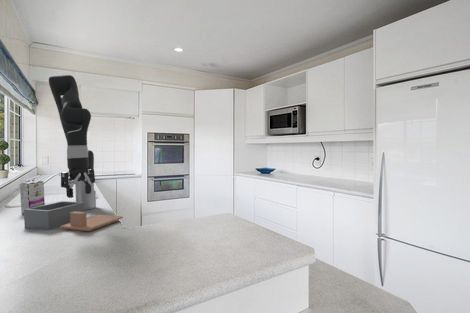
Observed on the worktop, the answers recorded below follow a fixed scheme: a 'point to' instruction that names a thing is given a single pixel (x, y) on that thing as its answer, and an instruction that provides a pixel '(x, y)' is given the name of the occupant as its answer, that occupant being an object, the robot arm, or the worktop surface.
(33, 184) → the candy bar box
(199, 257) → the worktop surface
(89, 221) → the lid
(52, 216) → the tub
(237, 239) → the worktop surface
